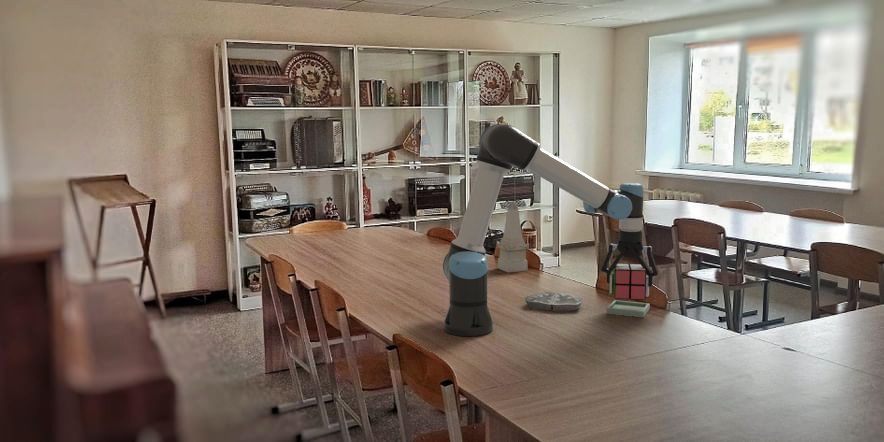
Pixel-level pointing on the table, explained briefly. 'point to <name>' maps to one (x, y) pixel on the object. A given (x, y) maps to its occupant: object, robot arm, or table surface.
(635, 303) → the coaster
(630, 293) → the puzzle cube
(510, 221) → the miniature monument
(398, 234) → the table surface
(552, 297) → the brain slice
